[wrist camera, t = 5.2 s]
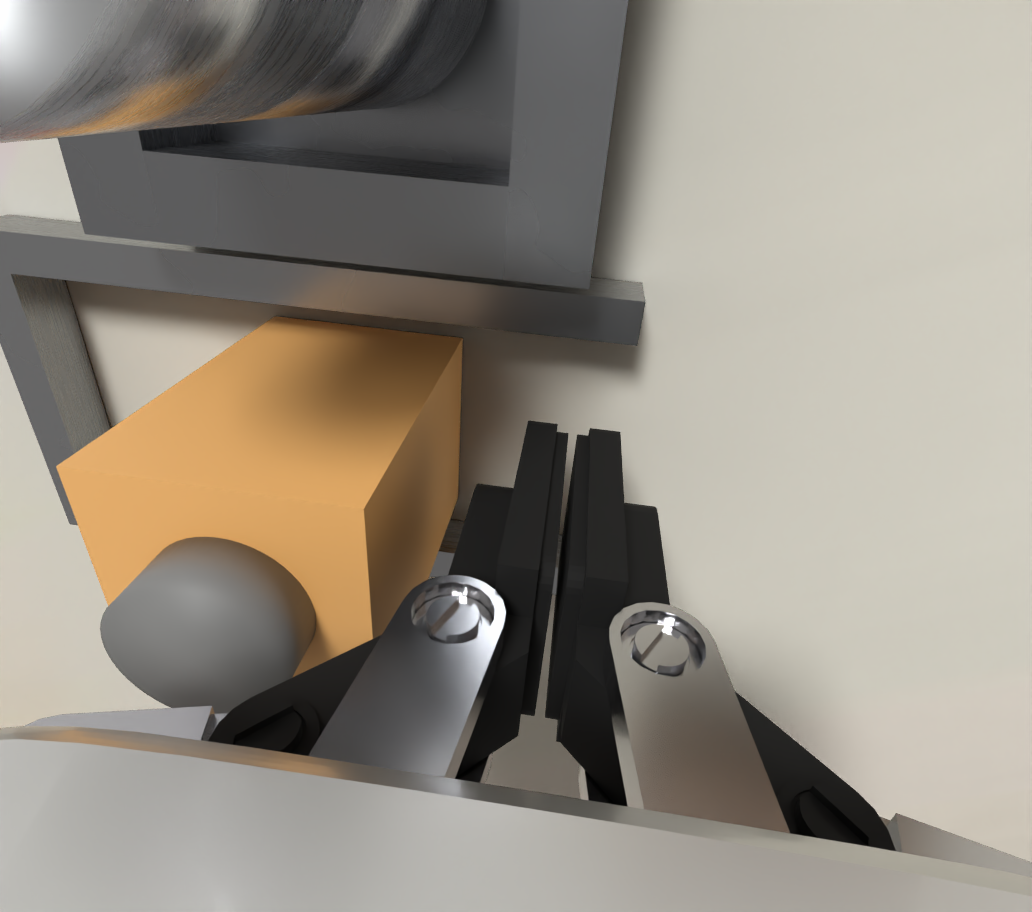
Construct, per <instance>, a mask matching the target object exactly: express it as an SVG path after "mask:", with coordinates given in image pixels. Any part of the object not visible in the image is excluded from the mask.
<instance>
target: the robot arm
mask: <svg viewBox="0 0 1032 912" xmlns="http://www.w3.org/2000/svg"><path fill="white" fill-rule="evenodd" d="M557 425H558V424H551V423H543V422H535V421H528V425H527V429H526V434H525V438H524V443H523V448H522V452H521V457H520V461H519V466H518V471H517V475H516V480H515V484H514V488H507V487H499V486H491V485H484V484H477V485H476V488H475V490H474V493H473V497H472V500H471V503H470V506H469V509H468V513H467V516H466V519H465V522H464V525H463V529H462V532H461V535H460V538H459V541H458V545H457V548H456V551H455V554H454V557H453V561H452V564H451V567H450V570H449V573H448V575H447V576H438V577H435V578H432V579H429V580H426V581H424V582H422V583H421V584H419V585H417V586H416V587H414V588H413V589H412V590H411V591H410V592H409V593H408V594H407V596H406V597H405V598H404V599H403V601H402V603H401V604H400V606H399V607H398V609H397V611H396V612H395V614H394V616H393V617H392V619H391V621H390V622H389V624H388V626H387V627H386V629H385V630H384V632H383V634H382V635H380V636H378V637H376V638H374V639H371V640H369V641H367V642H365V643H363V644H361V645H359V646H357V647H355V648H353V649H351V650H349V651H347V652H344V653H342V654H340V655H338V656H336V657H334V658H332V659H330V660H328V661H326V662H324V663H322V664H319V665H317V666H315V667H313V668H311V669H309V670H307V671H305V672H303V673H301V674H299V675H297V676H295V677H292V678H290V679H288V680H286V681H284V682H282V683H280V684H278V685H276V686H274V687H272V688H270V689H267V690H265V691H263V692H261V693H259V694H257V695H255V696H253V697H251V698H249V699H248V700H246V701H244V702H243V703H241V704H240V705H238V706H236V707H235V708H233V709H232V710H231V711H230V712H229V713H224V714H214V711H213V707H212V706H200V707H182V708H165V709H147V710H130V711H112V712H94V713H77V714H62V715H57V716H52V717H47V718H42V719H39V720H37V721H34V722H32V723H30V724H28V725H26V726H19V727H6V728H0V912H1032V862H1029V861H1026V860H1023V859H1021V858H1018V857H1015V856H1012V855H1010V854H1007V853H1004V852H1001V851H999V850H996V849H993V848H991V847H988V846H985V845H982V844H980V843H977V842H974V841H971V840H969V839H966V838H963V837H960V836H958V835H955V834H952V833H949V832H947V831H944V830H941V829H938V828H936V827H933V826H930V825H927V824H925V823H922V822H919V821H916V820H914V819H911V818H908V817H905V816H903V815H900V814H897V813H896V814H895V815H894V817H893V818H892V819H891V821H890V820H887V819H885V818H882V817H879V815H878V814H877V812H876V811H875V809H874V808H873V807H872V806H871V805H870V804H869V803H868V802H867V801H866V800H865V799H864V798H863V797H862V796H861V795H860V794H859V793H858V792H856V791H855V790H854V789H853V788H852V787H850V786H849V785H848V784H847V783H846V782H844V781H843V780H842V779H841V778H840V777H838V776H837V775H836V774H835V773H833V772H832V771H831V770H830V769H829V768H827V767H826V766H825V765H824V764H823V763H821V762H820V761H819V760H818V759H816V758H815V757H814V756H813V755H812V754H810V753H809V752H808V751H807V750H806V749H804V748H803V747H802V746H801V745H799V744H798V743H797V742H796V741H795V740H793V739H792V738H791V737H790V736H789V735H787V734H786V733H785V732H784V731H782V730H781V729H780V728H779V727H778V726H776V725H775V724H774V723H773V722H772V721H770V720H769V719H768V718H767V717H765V716H764V715H763V714H762V713H761V712H759V711H758V710H757V709H756V708H755V707H753V706H752V705H751V704H750V703H749V702H747V701H746V700H745V699H744V698H742V697H741V696H740V695H739V694H738V693H736V692H735V691H734V688H733V686H732V683H731V681H730V678H729V676H728V673H727V671H726V668H725V665H724V663H723V660H722V658H721V655H720V653H719V650H718V648H717V645H716V643H715V641H714V639H713V638H712V636H711V634H710V632H709V631H708V629H707V628H705V627H704V626H703V625H702V624H701V623H700V622H699V621H698V620H697V619H696V618H694V617H693V616H691V615H690V614H688V613H686V612H685V611H683V610H681V609H678V608H675V607H673V606H670V603H669V595H668V588H667V580H666V573H665V565H664V558H663V550H662V542H661V535H660V527H659V520H658V513H657V509H656V508H655V507H653V506H645V505H637V504H630V503H624V491H623V473H622V455H621V437H620V432H616V431H608V430H600V429H592V428H590V430H589V435H588V436H585V435H577V440H576V447H575V454H574V461H573V467H572V474H571V481H570V488H569V495H568V501H567V508H566V515H565V522H564V529H563V535H562V542H561V549H560V557H559V566H558V577H557V588H556V599H555V610H554V622H553V633H552V644H551V655H550V667H549V678H548V689H547V700H546V712H545V718H551V719H558V725H557V739H556V741H557V742H561V744H562V745H563V746H564V747H565V748H566V749H567V750H568V751H569V753H570V754H571V755H572V756H573V757H574V758H575V759H576V760H577V762H578V763H579V771H578V784H579V792H580V799H577V798H571V797H564V796H558V795H552V794H546V793H539V792H533V791H527V790H521V789H514V788H508V787H502V786H496V785H489V784H485V783H486V780H487V777H488V774H489V771H490V768H491V762H492V756H493V752H494V751H496V750H497V749H499V748H500V747H502V746H503V745H505V744H506V743H508V742H509V741H511V740H512V739H514V738H515V737H517V736H518V731H519V724H520V716H521V714H525V715H531V716H534V715H535V709H536V702H537V695H538V688H539V681H540V674H541V667H542V660H543V653H544V646H545V639H546V632H547V626H548V619H549V612H550V605H551V598H552V591H553V584H554V576H555V567H556V558H557V548H558V537H559V526H560V516H561V505H562V495H563V484H564V474H565V463H566V452H567V442H568V433H561V432H557Z"/></svg>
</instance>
